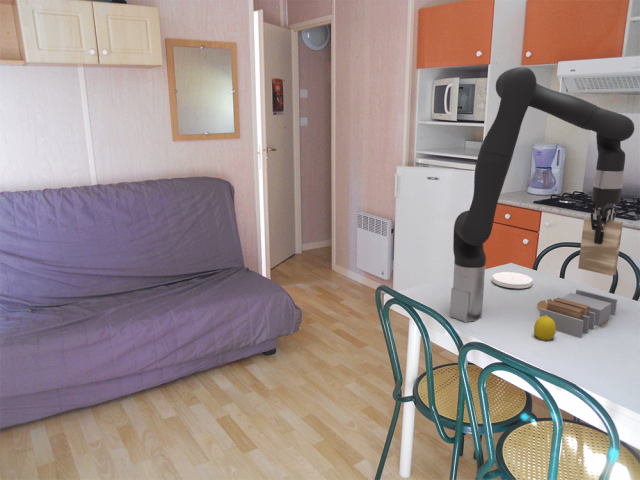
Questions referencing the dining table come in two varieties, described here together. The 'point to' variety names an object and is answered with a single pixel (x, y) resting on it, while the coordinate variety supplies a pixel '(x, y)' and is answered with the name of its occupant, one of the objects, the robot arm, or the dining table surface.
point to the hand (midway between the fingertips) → (600, 242)
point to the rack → (598, 314)
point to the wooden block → (600, 248)
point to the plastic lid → (512, 280)
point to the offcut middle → (574, 305)
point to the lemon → (544, 328)
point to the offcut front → (565, 310)
